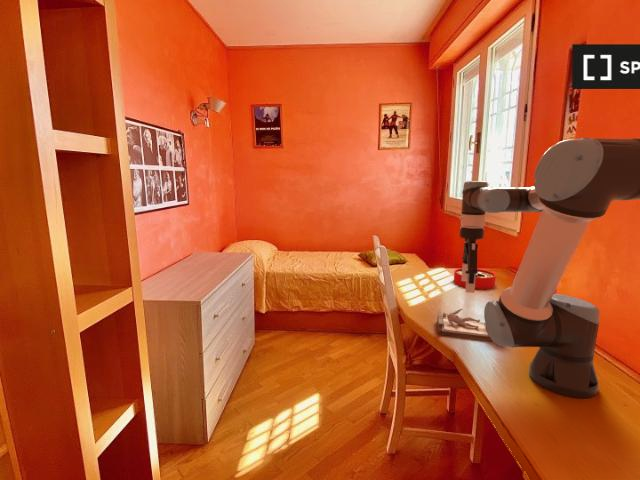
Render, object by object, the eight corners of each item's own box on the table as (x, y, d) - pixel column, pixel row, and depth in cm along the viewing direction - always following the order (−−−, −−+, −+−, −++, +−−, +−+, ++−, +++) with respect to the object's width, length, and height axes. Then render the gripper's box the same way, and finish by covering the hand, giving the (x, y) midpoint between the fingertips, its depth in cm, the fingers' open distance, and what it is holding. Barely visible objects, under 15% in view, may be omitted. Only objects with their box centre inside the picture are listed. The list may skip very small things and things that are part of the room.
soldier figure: (476, 335, 117) (442, 320, 120) (471, 338, 122) (438, 324, 125) (481, 315, 121) (448, 301, 124) (476, 319, 125) (444, 306, 128)
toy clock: (504, 275, 175) (477, 280, 166) (503, 286, 176) (476, 291, 167) (472, 266, 192) (446, 270, 184) (471, 276, 193) (445, 281, 185)
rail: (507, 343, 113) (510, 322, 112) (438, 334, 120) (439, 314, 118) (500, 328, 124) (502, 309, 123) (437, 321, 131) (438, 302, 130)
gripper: (457, 222, 129) (453, 276, 132) (464, 231, 105) (459, 296, 109) (478, 223, 127) (474, 277, 130) (490, 232, 103) (484, 298, 107)
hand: (467, 286), depth 120 cm, fingers open, 13 cm apart
